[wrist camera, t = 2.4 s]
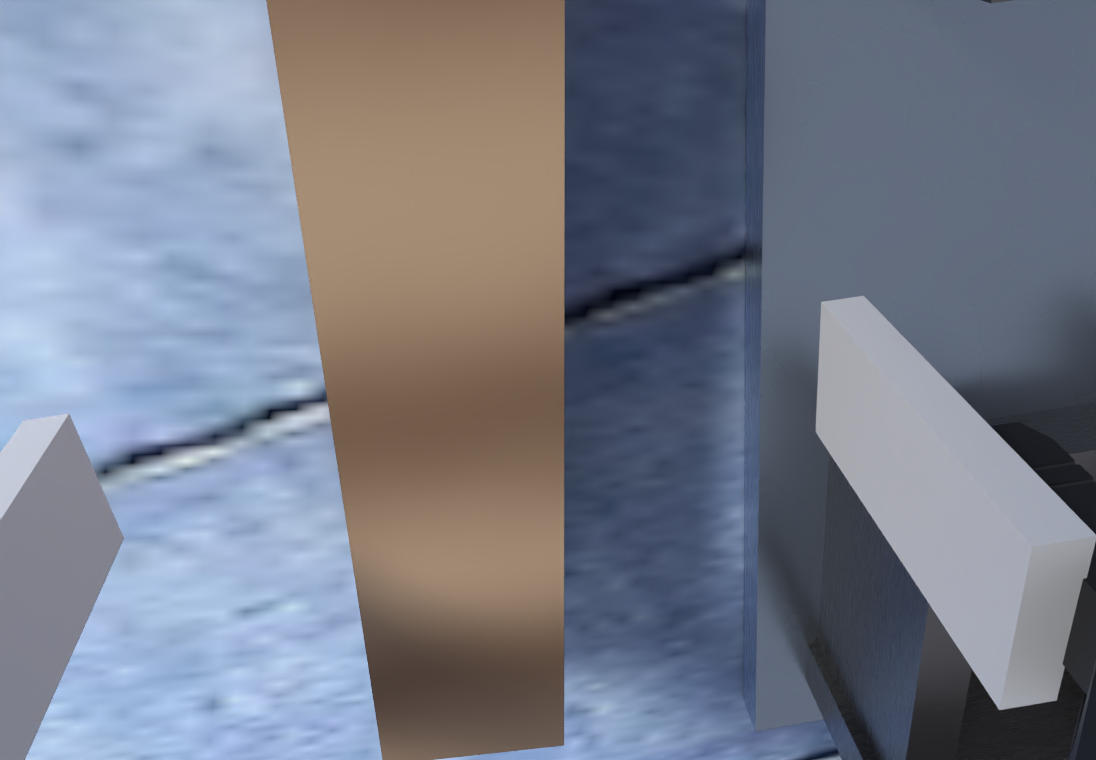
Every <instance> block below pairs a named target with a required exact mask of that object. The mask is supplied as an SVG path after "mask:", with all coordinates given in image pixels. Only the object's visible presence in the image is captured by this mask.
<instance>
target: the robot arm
mask: <svg viewBox="0 0 1096 760" xmlns="http://www.w3.org/2000/svg"><path fill="white" fill-rule="evenodd" d="M816 433H817V435H818V436H819V438H820V439H821V441H822V442H823V444H824V446H825V447H826V449H827V450H828V452H829V453H830V455H831V456H832V458H833V459H834V461H835V462H836V464H837V465H838V467H839V468H840V470H841V471H842V473H843V474H844V476H845V477H846V479H847V480H848V482H849V483H850V485H851V486H852V488H853V489H854V491H855V492H856V494H857V495H858V497H859V498H860V500H861V502H862V503H863V505H864V506H865V508H866V509H867V511H868V512H869V514H870V515H871V517H872V518H873V520H874V521H875V523H876V524H877V526H878V527H879V529H880V530H881V532H882V533H883V535H884V536H885V538H886V539H887V541H888V542H889V544H890V545H891V547H892V548H893V550H894V551H895V553H896V555H897V556H898V558H899V559H900V561H901V562H902V564H903V565H904V567H905V568H906V570H907V571H908V573H909V574H910V576H911V577H912V579H913V580H914V582H915V583H916V585H917V586H918V588H919V589H920V591H921V592H922V594H923V595H924V597H925V598H926V600H927V601H928V603H929V604H930V606H931V608H932V609H933V611H934V612H935V614H936V615H937V617H938V618H939V620H940V621H941V623H942V624H943V626H944V627H945V629H946V630H947V632H948V633H949V635H950V636H951V638H952V639H953V641H954V642H955V644H956V645H957V647H958V648H959V650H960V651H961V653H962V654H963V656H964V657H965V659H966V660H967V662H968V664H969V665H970V667H971V668H972V670H973V671H974V673H975V674H976V676H977V677H978V679H979V680H980V682H981V683H982V685H983V686H984V688H985V689H986V691H987V692H988V694H989V695H990V697H991V698H992V700H993V701H994V703H995V704H996V706H997V707H998V709H999V710H1003V709H1009V708H1015V707H1021V706H1027V705H1033V704H1039V703H1045V702H1051V701H1057V697H1058V693H1059V689H1060V685H1061V681H1062V677H1063V673H1064V669H1065V668H1066V669H1067V671H1068V672H1069V673H1070V674H1071V676H1072V677H1073V678H1074V680H1075V681H1076V682H1077V683H1078V685H1079V686H1080V687H1081V689H1082V690H1083V691H1084V696H1083V700H1082V704H1081V707H1080V711H1079V715H1078V719H1077V723H1076V726H1075V730H1074V734H1073V738H1072V741H1071V745H1070V749H1071V751H1070V755H1069V760H1096V482H1094V480H1093V477H1092V476H1091V475H1090V474H1089V473H1088V472H1087V471H1086V470H1085V469H1084V468H1083V467H1082V466H1081V465H1080V464H1078V465H1076V464H1075V460H1074V459H1073V458H1072V457H1071V456H1070V455H1069V454H1068V453H1067V452H1066V451H1065V450H1064V449H1063V448H1062V447H1061V446H1059V445H1058V444H1057V443H1056V442H1055V441H1054V440H1053V439H1052V438H1050V437H1048V436H1046V435H1044V434H1042V433H1040V432H1038V431H1036V430H1034V429H1032V428H1030V427H1028V426H1026V425H1024V424H1022V423H1020V422H1014V423H1007V424H1001V425H995V426H990V425H989V424H988V423H987V422H986V421H985V420H984V419H983V418H982V417H981V416H980V415H979V414H978V413H977V412H976V411H975V410H974V409H973V408H972V407H971V406H970V405H969V404H968V403H967V402H966V401H965V399H964V398H963V397H962V396H961V395H960V394H959V393H958V392H957V391H956V390H955V389H954V388H953V387H952V386H951V385H950V384H949V383H948V382H947V381H946V380H945V379H944V378H943V377H942V376H941V375H940V374H939V373H938V372H937V371H936V370H935V369H934V368H933V367H932V366H931V364H930V363H929V362H928V361H927V360H926V359H925V358H924V357H923V356H922V355H921V354H920V353H919V352H918V351H917V350H916V349H915V348H914V347H913V346H912V345H911V344H910V343H909V342H908V341H907V340H906V339H905V338H904V337H903V336H902V335H901V334H900V333H899V332H898V331H897V329H896V328H895V327H894V326H893V325H892V324H891V323H890V322H889V321H888V320H887V319H886V318H885V317H884V316H883V315H882V314H881V313H880V312H879V311H878V310H877V309H876V308H875V307H874V306H873V305H872V304H871V303H870V302H869V301H868V300H867V299H866V298H865V297H864V296H858V297H851V298H845V299H838V300H831V301H824V302H821V318H820V341H819V364H818V387H817V409H816ZM123 539H124V538H123V535H122V533H121V531H120V528H119V526H118V524H117V522H116V519H115V517H114V515H113V513H112V510H111V508H110V506H109V503H108V501H107V499H106V497H105V494H104V492H103V490H102V487H101V485H100V483H99V481H98V478H97V476H96V474H95V472H94V469H93V467H92V465H91V462H90V460H89V458H88V456H87V453H86V451H85V449H84V447H83V444H82V442H81V440H80V437H79V435H78V433H77V431H76V428H75V426H74V424H73V422H72V419H71V417H70V415H69V414H63V415H57V416H50V417H43V418H36V419H30V420H24V421H23V422H22V423H21V425H20V426H19V428H18V429H17V430H16V432H15V433H14V435H13V436H12V437H11V439H10V440H9V442H8V443H7V444H6V446H5V447H4V448H3V450H2V451H1V453H0V760H25V758H26V756H27V754H28V751H29V749H30V747H31V745H32V742H33V740H34V738H35V736H36V733H37V731H38V729H39V727H40V725H41V722H42V720H43V718H44V716H45V713H46V711H47V709H48V707H49V704H50V702H51V700H52V698H53V696H54V693H55V691H56V689H57V687H58V684H59V682H60V680H61V678H62V675H63V673H64V671H65V669H66V667H67V664H68V662H69V660H70V658H71V655H72V653H73V651H74V649H75V646H76V644H77V642H78V640H79V638H80V635H81V633H82V631H83V629H84V626H85V624H86V622H87V620H88V617H89V615H90V613H91V611H92V609H93V606H94V604H95V602H96V600H97V597H98V595H99V593H100V591H101V588H102V586H103V584H104V582H105V580H106V577H107V575H108V573H109V571H110V568H111V566H112V564H113V562H114V559H115V557H116V555H117V553H118V551H119V548H120V546H121V544H122V542H123Z"/></svg>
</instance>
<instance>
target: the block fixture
mask: <svg viewBox="0 0 1096 760" xmlns="http://www.w3.org/2000/svg"><path fill="white" fill-rule="evenodd" d="M858 296H864V297H865V298H866V299H867V300H868V301H869V302H870V303H871V304H872V305H873V306H874V307H875V308H876V309H877V310H878V311H879V312H880V313H881V314H882V315H883V316H884V317H885V318H886V319H887V320H888V321H889V322H890V323H891V324H892V325H893V326H894V327H895V328H896V329H897V331H898V332H899V333H900V334H901V335H902V336H903V337H904V338H905V339H906V340H907V341H908V342H909V343H910V344H911V345H912V346H913V347H914V348H915V349H916V350H917V351H918V352H919V353H920V354H921V355H922V356H923V357H924V358H925V359H926V360H927V361H928V362H929V363H930V364H931V366H932V367H933V368H934V369H935V370H936V371H937V372H938V373H939V374H940V375H941V376H942V377H943V378H944V379H945V380H946V381H947V382H948V383H949V384H950V385H951V386H952V387H953V388H954V389H955V390H956V391H957V392H958V393H959V394H960V395H961V396H962V397H963V398H964V399H965V401H966V402H967V403H968V404H969V405H970V406H971V407H972V408H973V409H974V410H975V411H976V412H977V413H978V414H979V415H980V416H981V417H982V418H983V419H984V420H985V421H986V422H987V423H988V424H989V425H990V426H995V425H1001V424H1007V423H1014V422H1020V423H1022V424H1024V425H1026V426H1028V427H1030V428H1032V429H1034V430H1036V431H1038V432H1040V433H1042V434H1044V435H1046V436H1048V437H1050V438H1052V439H1053V440H1054V441H1055V442H1056V443H1057V444H1058V445H1059V446H1061V447H1062V448H1063V449H1064V450H1065V451H1066V452H1067V453H1068V454H1069V455H1070V456H1071V457H1072V458H1073V459H1074V460H1075V464H1076V465H1078V464H1080V465H1081V466H1082V467H1083V468H1084V469H1085V470H1086V471H1087V472H1088V473H1089V474H1090V475H1091V476H1092V477H1093V480H1094V482H1096V0H747V41H746V279H745V516H744V702H745V705H746V708H747V710H748V713H749V716H750V718H751V721H752V724H753V726H754V729H755V732H756V731H762V730H767V729H773V728H779V727H785V726H790V725H796V724H802V723H807V722H813V721H819V720H824V721H825V723H826V725H827V727H828V730H829V732H830V734H831V736H832V738H833V741H834V743H835V745H836V747H837V749H838V752H839V754H840V756H841V758H842V760H1069V755H1070V751H1071V749H1070V745H1071V741H1072V738H1073V734H1074V730H1075V726H1076V723H1077V719H1078V715H1079V711H1080V707H1081V704H1082V700H1083V696H1084V691H1083V690H1082V689H1081V687H1080V686H1079V685H1078V683H1077V682H1076V681H1075V680H1074V678H1073V677H1072V676H1071V674H1070V673H1069V672H1068V671H1067V669H1066V668H1065V669H1064V673H1063V677H1062V681H1061V685H1060V689H1059V693H1058V697H1057V701H1051V702H1045V703H1039V704H1033V705H1027V706H1021V707H1015V708H1009V709H1003V710H999V709H998V707H997V706H996V704H995V703H994V701H993V700H992V698H991V697H990V695H989V694H988V692H987V691H986V689H985V688H984V686H983V685H982V683H981V682H980V680H979V679H978V677H977V676H976V674H975V673H974V671H973V670H972V668H971V667H970V665H969V664H968V662H967V660H966V659H965V657H964V656H963V654H962V653H961V651H960V650H959V648H958V647H957V645H956V644H955V642H954V641H953V639H952V638H951V636H950V635H949V633H948V632H947V630H946V629H945V627H944V626H943V624H942V623H941V621H940V620H939V618H938V617H937V615H936V614H935V612H934V611H933V609H932V608H931V606H930V604H929V603H928V601H927V600H926V598H925V597H924V595H923V594H922V592H921V591H920V589H919V588H918V586H917V585H916V583H915V582H914V580H913V579H912V577H911V576H910V574H909V573H908V571H907V570H906V568H905V567H904V565H903V564H902V562H901V561H900V559H899V558H898V556H897V555H896V553H895V551H894V550H893V548H892V547H891V545H890V544H889V542H888V541H887V539H886V538H885V536H884V535H883V533H882V532H881V530H880V529H879V527H878V526H877V524H876V523H875V521H874V520H873V518H872V517H871V515H870V514H869V512H868V511H867V509H866V508H865V506H864V505H863V503H862V502H861V500H860V498H859V497H858V495H857V494H856V492H855V491H854V489H853V488H852V486H851V485H850V483H849V482H848V480H847V479H846V477H845V476H844V474H843V473H842V471H841V470H840V468H839V467H838V465H837V464H836V462H835V461H834V459H833V458H832V456H831V455H830V453H829V452H828V450H827V449H826V447H825V446H824V444H823V442H822V441H821V439H820V438H819V436H818V435H817V433H816V409H817V387H818V364H819V341H820V318H821V302H824V301H831V300H838V299H845V298H851V297H858Z"/></svg>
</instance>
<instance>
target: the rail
mask: <svg viewBox="0 0 1096 760" xmlns="http://www.w3.org/2000/svg"><path fill="white" fill-rule="evenodd" d="M266 1H267V7H268V14H269V20H270V27H271V33H272V40H273V46H274V53H275V59H276V66H277V72H278V79H279V86H280V92H281V99H282V105H283V112H284V118H285V125H286V131H287V138H288V144H289V151H290V157H291V164H292V170H293V177H294V184H295V190H296V197H297V203H298V210H299V216H300V223H301V229H302V236H303V242H304V249H305V255H306V262H307V268H308V275H309V282H310V288H311V295H312V301H313V308H314V314H315V321H316V327H317V334H318V340H319V347H320V353H321V360H322V366H323V373H324V380H325V386H326V393H327V399H328V406H329V412H330V419H331V425H332V432H333V438H334V445H335V451H336V458H337V464H338V471H339V478H340V484H341V491H342V497H343V504H344V510H345V517H346V523H347V530H348V536H349V543H350V549H351V556H352V562H353V569H354V576H355V582H356V589H357V595H358V602H359V608H360V615H361V621H362V628H363V634H364V641H365V647H366V654H367V660H368V667H369V674H370V680H371V687H372V693H373V700H374V706H375V713H376V719H377V726H378V732H379V739H380V745H381V752H382V758H383V760H434V759H443V758H453V757H462V756H471V755H480V754H489V753H498V752H507V751H517V750H526V749H535V748H544V747H553V746H562V745H564V229H565V0H266Z"/></svg>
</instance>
